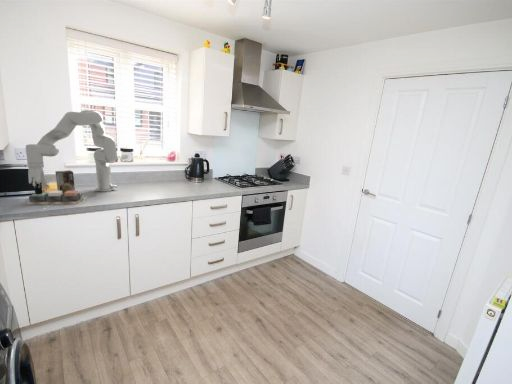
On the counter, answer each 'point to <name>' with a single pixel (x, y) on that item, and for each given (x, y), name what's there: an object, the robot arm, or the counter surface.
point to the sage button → (39, 194)
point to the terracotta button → (71, 193)
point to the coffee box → (65, 181)
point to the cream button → (55, 193)
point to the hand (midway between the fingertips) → (38, 193)
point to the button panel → (55, 199)
